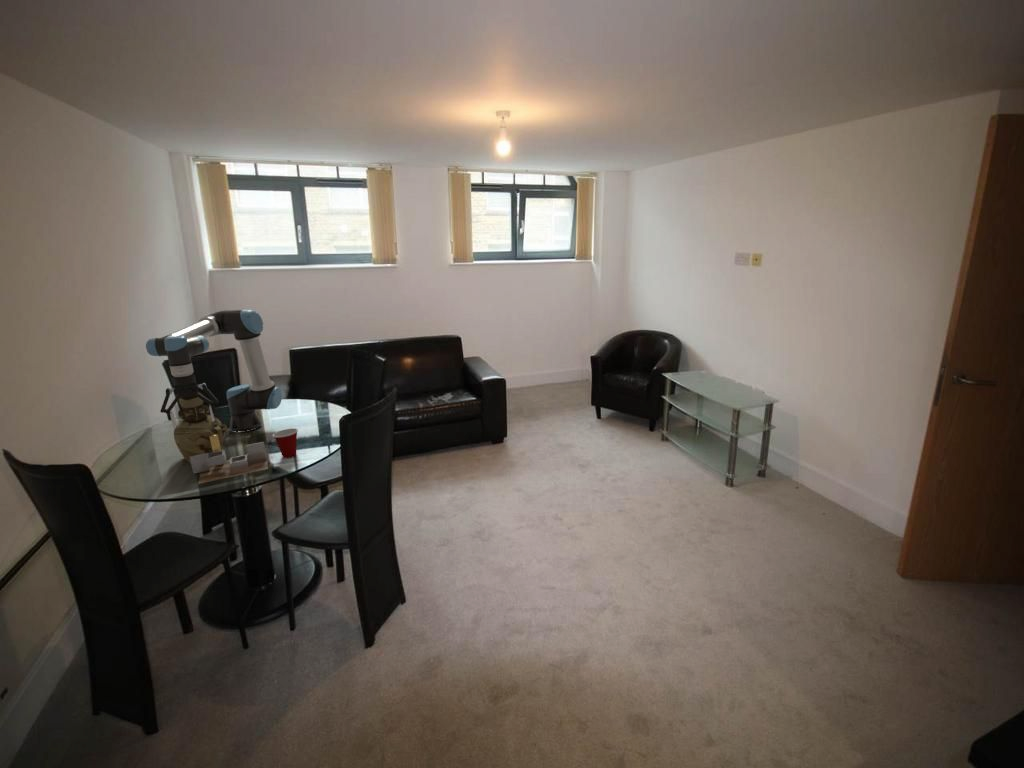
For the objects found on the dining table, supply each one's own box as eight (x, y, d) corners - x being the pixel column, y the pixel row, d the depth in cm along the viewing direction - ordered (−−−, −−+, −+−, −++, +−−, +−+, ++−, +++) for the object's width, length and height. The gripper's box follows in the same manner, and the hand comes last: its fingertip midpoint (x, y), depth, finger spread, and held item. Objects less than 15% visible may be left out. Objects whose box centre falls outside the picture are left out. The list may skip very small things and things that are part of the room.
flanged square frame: (193, 472, 209) (189, 456, 207) (228, 465, 215) (224, 449, 213) (192, 479, 204) (188, 462, 201) (227, 471, 209) (223, 455, 207)
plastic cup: (292, 449, 234) (288, 425, 230) (306, 453, 228) (302, 429, 225) (271, 457, 225) (266, 433, 222) (285, 462, 219) (281, 437, 216)
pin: (216, 464, 217) (209, 435, 213) (224, 462, 219) (217, 433, 215) (215, 467, 215) (209, 437, 211) (224, 465, 216) (217, 436, 212)
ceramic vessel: (226, 462, 221) (212, 400, 213) (174, 469, 216) (157, 406, 207) (237, 446, 239) (224, 388, 230) (188, 452, 234) (174, 393, 225)
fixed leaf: (231, 465, 216) (228, 448, 213) (267, 458, 222) (263, 441, 219) (231, 471, 210) (227, 454, 208) (267, 463, 216) (264, 446, 214)
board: (202, 467, 217) (202, 465, 217) (267, 454, 229) (266, 452, 228) (198, 486, 200) (198, 483, 200) (268, 471, 211) (268, 468, 211)
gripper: (143, 381, 187) (157, 433, 193) (218, 371, 199) (228, 420, 205) (146, 377, 194) (159, 427, 200) (218, 368, 205) (228, 415, 211)
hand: (194, 424), depth 202 cm, fingers open, 13 cm apart
